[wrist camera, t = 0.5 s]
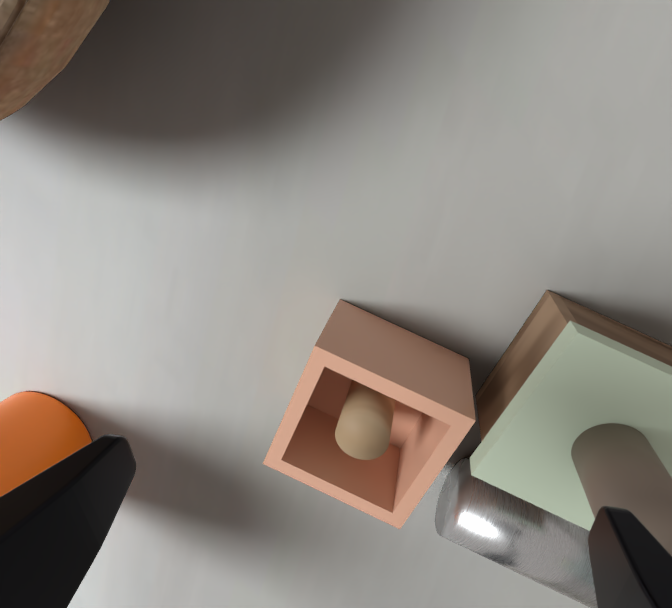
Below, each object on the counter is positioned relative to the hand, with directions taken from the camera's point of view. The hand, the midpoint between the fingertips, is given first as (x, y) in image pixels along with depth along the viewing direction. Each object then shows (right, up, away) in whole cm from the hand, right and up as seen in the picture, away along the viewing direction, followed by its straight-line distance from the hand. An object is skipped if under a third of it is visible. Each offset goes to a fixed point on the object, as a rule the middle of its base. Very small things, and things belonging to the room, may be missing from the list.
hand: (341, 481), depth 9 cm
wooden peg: (+2, -1, +15) cm, 15 cm away
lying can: (+10, -7, +16) cm, 20 cm away
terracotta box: (+2, -1, +15) cm, 15 cm away
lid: (+10, -1, +10) cm, 14 cm away
